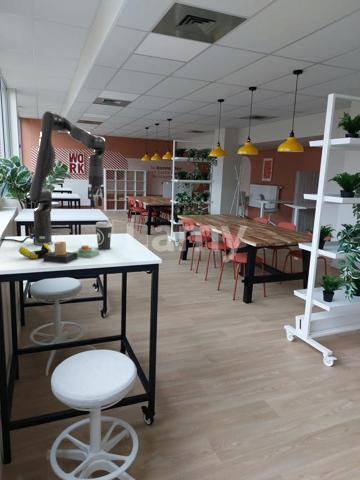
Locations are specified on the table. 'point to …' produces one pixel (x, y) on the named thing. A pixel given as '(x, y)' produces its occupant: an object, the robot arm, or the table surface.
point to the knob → (60, 248)
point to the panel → (60, 257)
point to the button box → (86, 253)
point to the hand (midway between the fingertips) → (96, 206)
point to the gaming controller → (35, 252)
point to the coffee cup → (103, 235)
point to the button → (84, 247)
